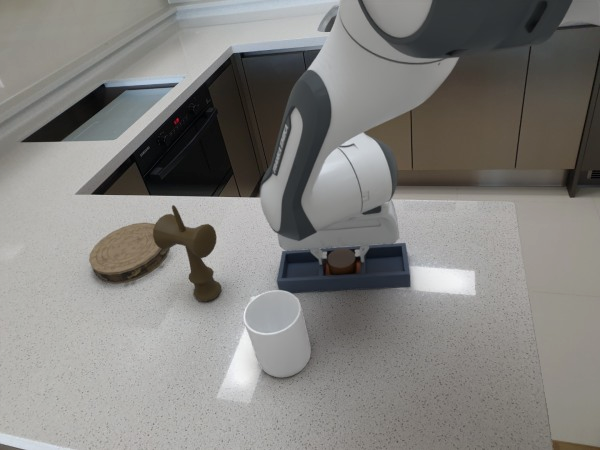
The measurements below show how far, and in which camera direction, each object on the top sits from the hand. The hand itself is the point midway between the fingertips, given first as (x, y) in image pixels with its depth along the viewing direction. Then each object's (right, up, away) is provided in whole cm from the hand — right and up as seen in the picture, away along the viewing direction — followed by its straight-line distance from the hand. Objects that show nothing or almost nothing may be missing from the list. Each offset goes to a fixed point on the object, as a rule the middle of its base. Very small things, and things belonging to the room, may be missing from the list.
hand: (342, 261), depth 81 cm
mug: (-11, -13, -9) cm, 19 cm away
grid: (+1, -2, +2) cm, 3 cm away
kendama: (-24, -6, +4) cm, 25 cm away
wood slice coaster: (-43, 0, +17) cm, 46 cm away
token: (0, -1, +1) cm, 2 cm away
